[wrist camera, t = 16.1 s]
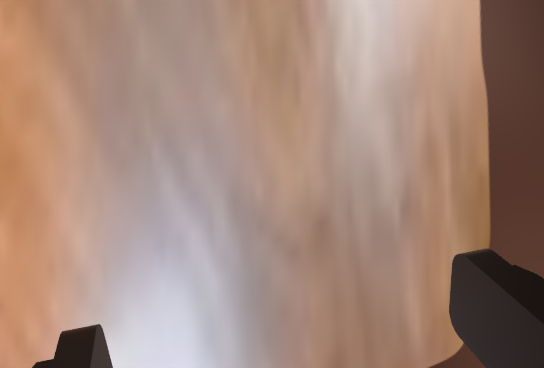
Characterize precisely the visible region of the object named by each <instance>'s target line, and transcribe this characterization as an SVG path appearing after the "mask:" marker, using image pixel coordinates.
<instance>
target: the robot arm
mask: <svg viewBox="0 0 544 368" xmlns="http://www.w3.org/2000/svg"><path fill="white" fill-rule="evenodd" d="M449 313H450V319H451V322H452V325H453V327H454V330H455V331H456V333H457V335H458V336H459V337H460V338H461V340H462V341H463V342H464V343H465V344H466V345H467V346H468V348H469V349H470V350H471V351H472V352H473V353H474V354H475V355H476V357H477V358H478V359H479V360H480V361H481V362H482V363H483V365H484V366H485V367H486V368H544V279H543V278H542V277H540V276H539V275H537V274H535V273H533V272H530V271H528V270H526V269H523V268H521V267H518V266H516V265H511V264H509V263H508V262H507V261H506V260H504V259H503V258H502V257H500V256H499V255H498V254H497V253H495V252H494V251H493V250H491V249H482V250H477V251H472V252H467V253H462V254H457V255H456V256H455V257H454V259H453V263H452V275H451V290H450V305H449ZM32 368H113V366H112V363H111V359H110V355H109V351H108V347H107V343H106V340H105V336H104V332H103V329H102V327H101V325H100V324H98V325H93V326H88V327H83V328H78V329H73V330H68V331H63V332H61V334H60V337H59V341H58V345H57V348H56V352H55V356H54V359H51V360H46V361H41V362H37V363H36V364H35V365H34V366H33V367H32Z"/></svg>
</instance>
